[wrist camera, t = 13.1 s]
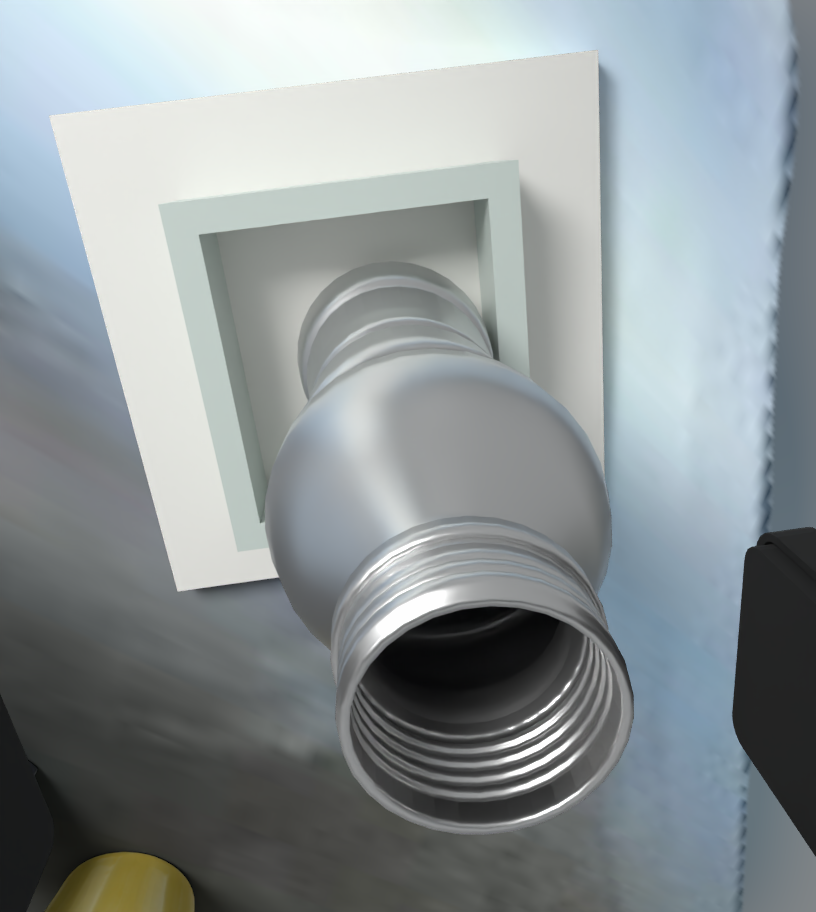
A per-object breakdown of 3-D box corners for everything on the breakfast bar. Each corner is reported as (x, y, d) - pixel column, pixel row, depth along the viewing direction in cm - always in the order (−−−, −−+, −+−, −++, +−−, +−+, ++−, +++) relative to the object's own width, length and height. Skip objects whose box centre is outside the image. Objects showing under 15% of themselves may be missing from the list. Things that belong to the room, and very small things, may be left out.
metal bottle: (386, 211, 26) (491, 336, 7) (515, 344, 28) (857, 707, 9) (264, 344, 27) (83, 739, 8) (396, 460, 29) (483, 983, 11)
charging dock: (60, 117, 25) (9, 108, 21) (589, 53, 25) (630, 35, 21) (182, 578, 31) (160, 634, 28) (597, 520, 32) (630, 567, 28)
